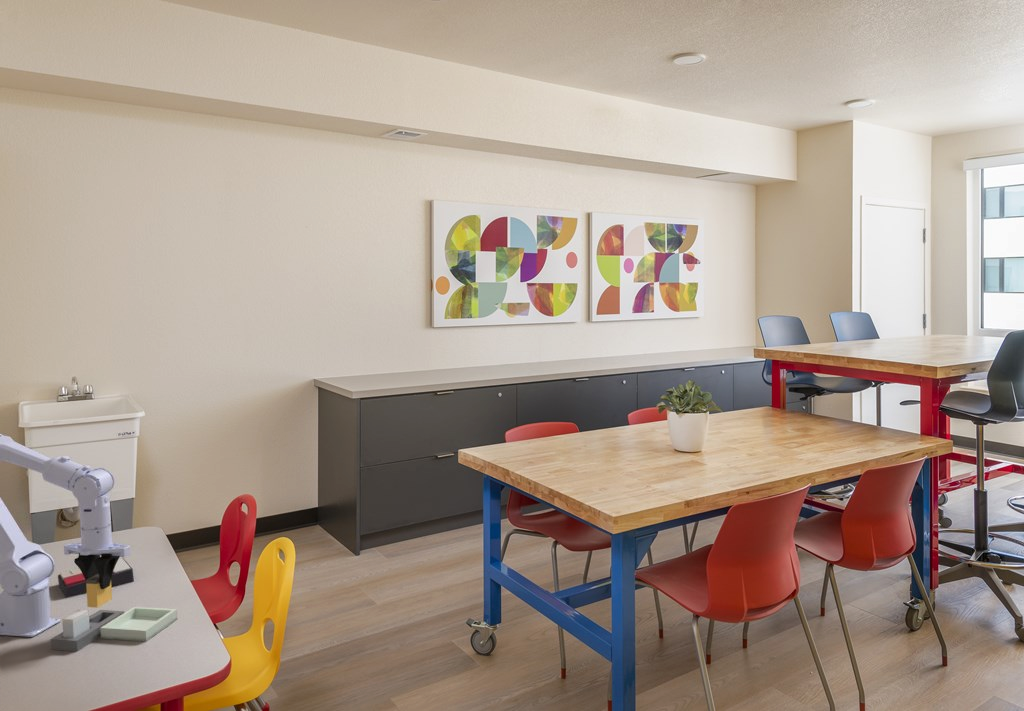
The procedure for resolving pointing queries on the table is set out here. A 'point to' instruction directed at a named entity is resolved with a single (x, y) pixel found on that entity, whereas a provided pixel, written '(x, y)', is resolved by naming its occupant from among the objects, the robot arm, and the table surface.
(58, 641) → the block
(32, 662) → the table surface
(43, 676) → the table surface
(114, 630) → the parts tray
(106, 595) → the yellow rectangular block
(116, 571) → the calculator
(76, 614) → the block
